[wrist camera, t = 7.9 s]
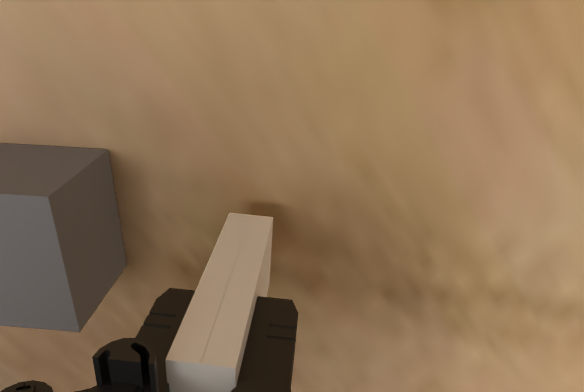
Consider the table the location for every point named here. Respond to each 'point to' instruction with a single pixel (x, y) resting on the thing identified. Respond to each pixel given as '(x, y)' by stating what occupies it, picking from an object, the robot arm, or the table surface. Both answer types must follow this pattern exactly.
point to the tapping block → (56, 235)
